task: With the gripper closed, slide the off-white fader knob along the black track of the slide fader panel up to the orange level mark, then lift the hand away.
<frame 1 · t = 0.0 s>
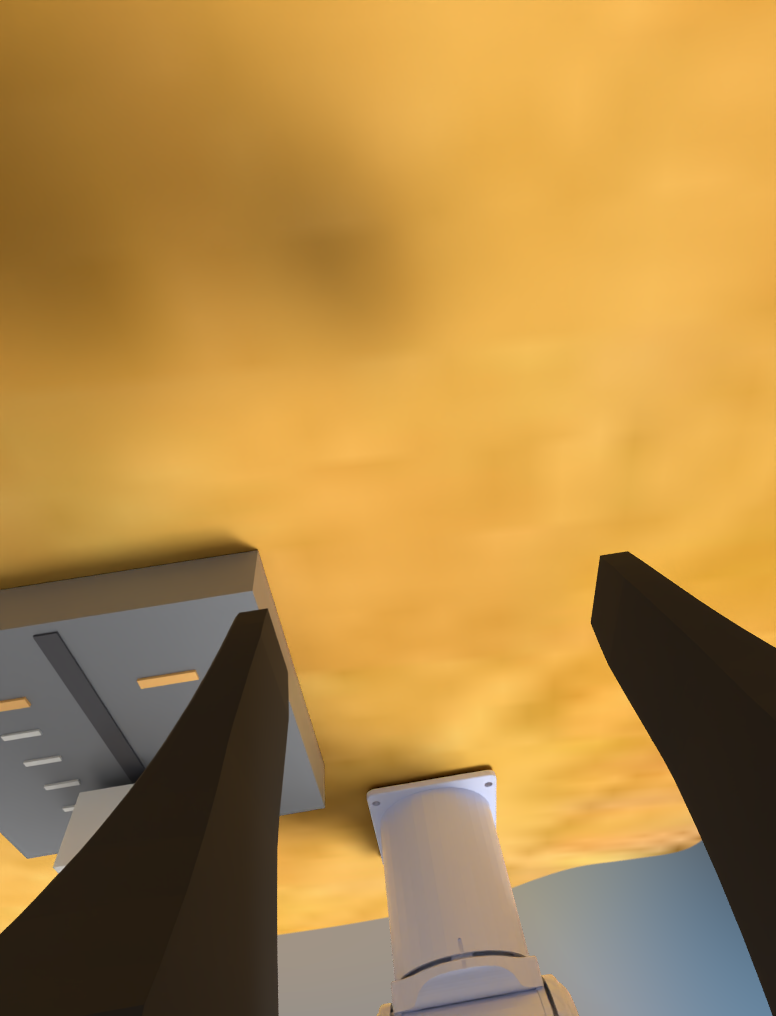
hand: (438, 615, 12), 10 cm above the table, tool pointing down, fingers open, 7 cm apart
slide fader panel: (135, 701, 27), on the table
fader knob: (140, 837, 26), point 5 cm above the table, slide at 0.0 cm
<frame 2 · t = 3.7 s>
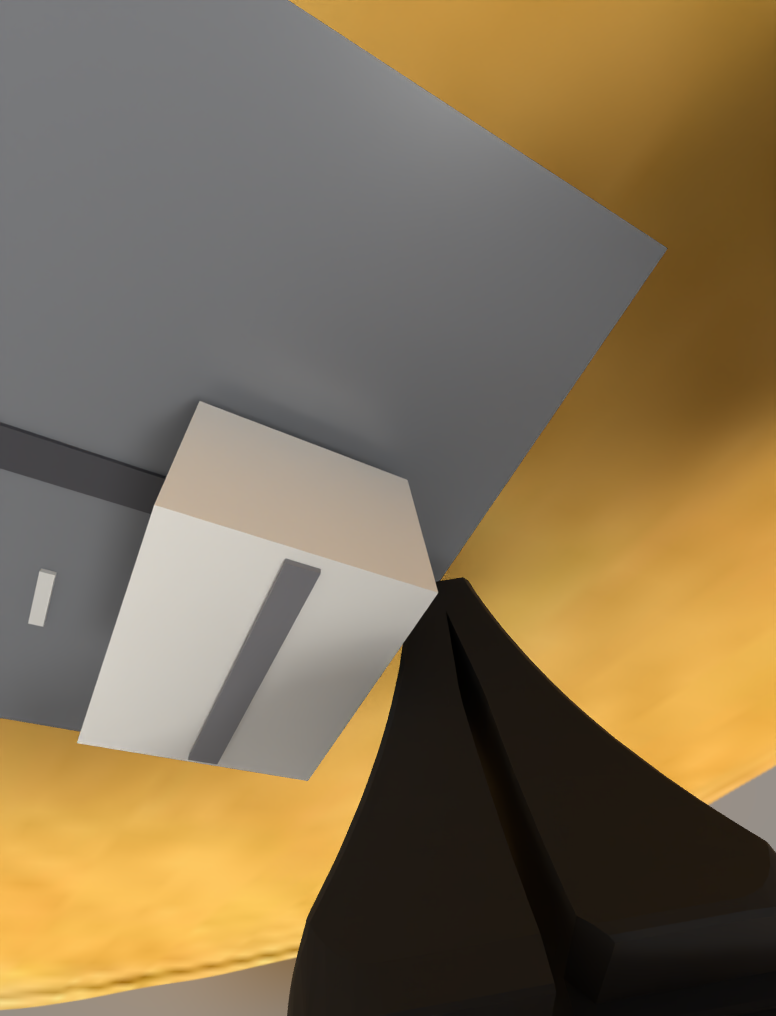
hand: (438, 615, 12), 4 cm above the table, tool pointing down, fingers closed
slide fader panel: (112, 412, 12), on the table
fader knob: (256, 596, 10), point 5 cm above the table, slide at 0.2 cm, touching gripper
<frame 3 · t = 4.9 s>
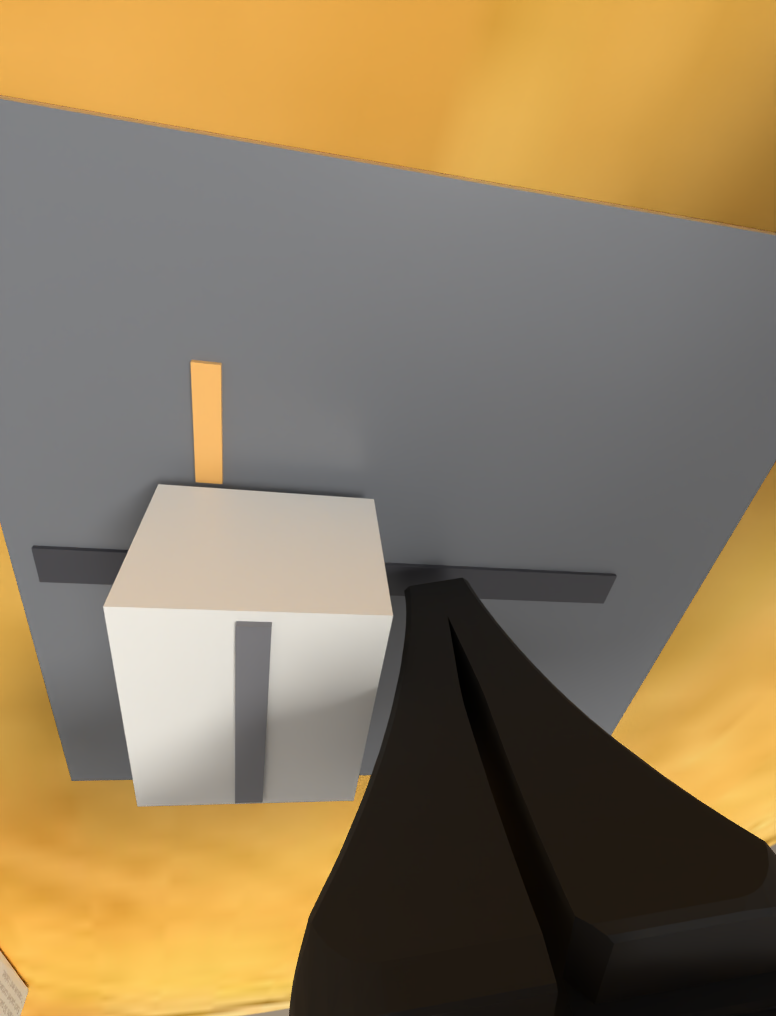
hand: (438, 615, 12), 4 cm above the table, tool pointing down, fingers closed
slide fader panel: (380, 516, 15), on the table
fader knob: (259, 643, 11), point 5 cm above the table, slide at 6.8 cm, touching gripper
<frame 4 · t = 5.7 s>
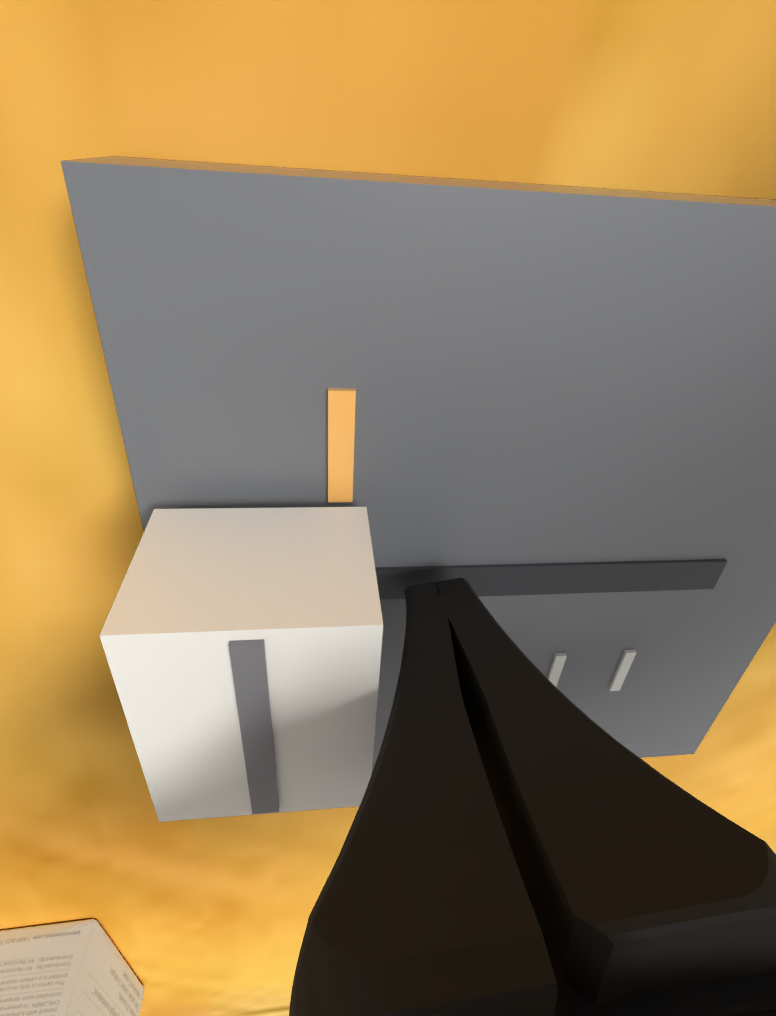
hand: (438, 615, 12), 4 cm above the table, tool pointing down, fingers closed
slide fader panel: (480, 519, 15), on the table
supplement box: (32, 961, 28), on the table
fader knob: (265, 657, 11), point 5 cm above the table, slide at 9.5 cm, touching gripper
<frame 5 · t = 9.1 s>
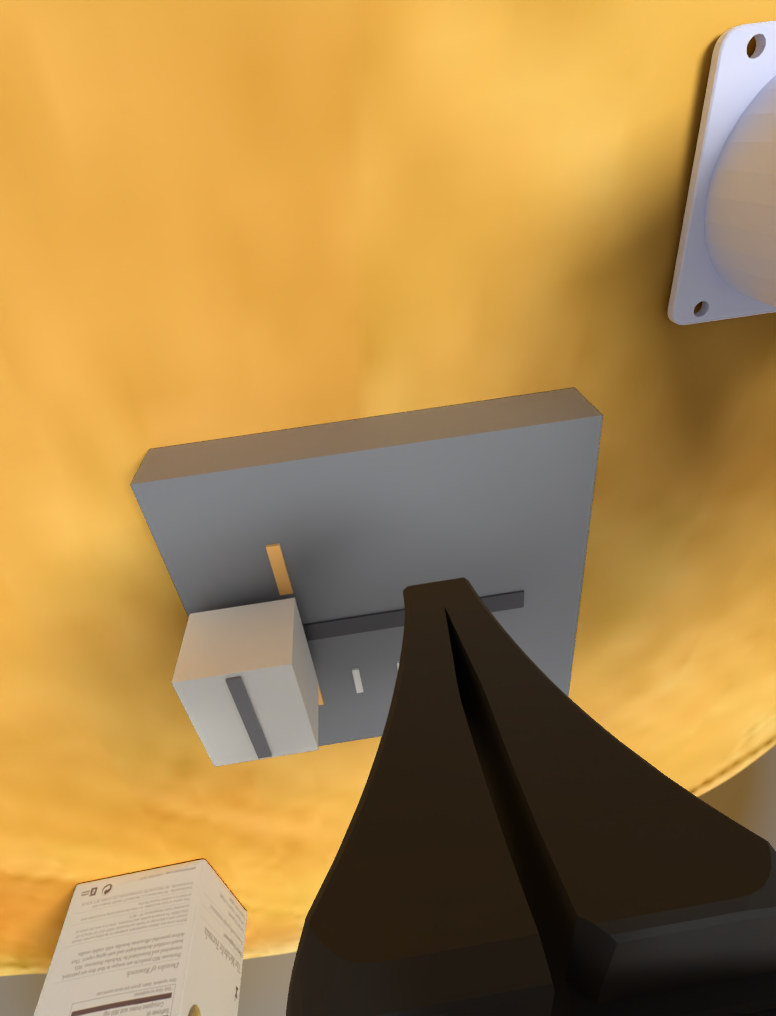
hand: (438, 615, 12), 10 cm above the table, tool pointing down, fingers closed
slide fader panel: (387, 578, 25), on the table
supplement box: (167, 894, 40), on the table
fader knob: (254, 680, 21), point 5 cm above the table, slide at 9.6 cm
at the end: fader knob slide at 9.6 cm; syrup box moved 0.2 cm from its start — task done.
